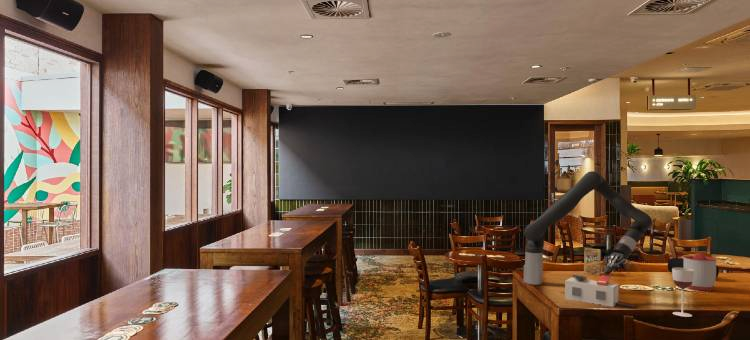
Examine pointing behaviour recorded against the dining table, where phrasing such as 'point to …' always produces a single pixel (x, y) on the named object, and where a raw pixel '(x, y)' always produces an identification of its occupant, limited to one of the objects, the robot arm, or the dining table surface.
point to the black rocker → (579, 277)
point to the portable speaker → (682, 264)
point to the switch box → (592, 292)
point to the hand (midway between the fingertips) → (605, 273)
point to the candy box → (592, 261)
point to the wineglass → (682, 284)
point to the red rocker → (603, 280)
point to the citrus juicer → (701, 271)
